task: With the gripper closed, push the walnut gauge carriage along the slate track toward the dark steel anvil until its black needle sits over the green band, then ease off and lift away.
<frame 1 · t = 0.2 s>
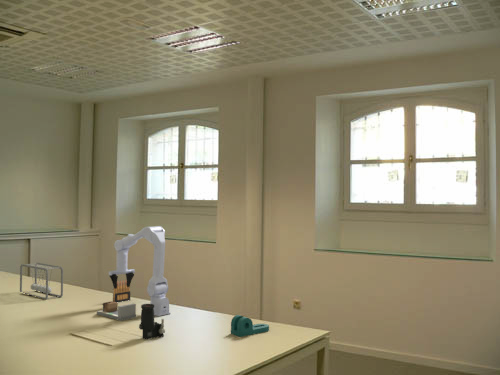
hand: (121, 287, 285), 10 cm above the table, fingers open, 7 cm apart
bracket: (251, 332, 235), on the table
gauge carriage: (108, 306, 265), point 4 cm above the table, slide at 0.0 cm
newton's cradle: (40, 296, 311), on the table
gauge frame: (116, 315, 262), on the table
scope: (149, 338, 224), on the table
ammunition clip: (121, 301, 297), on the table
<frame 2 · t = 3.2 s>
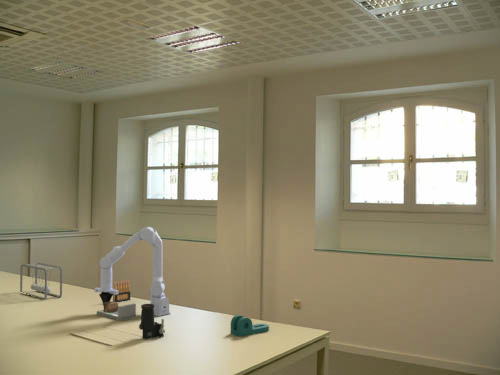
hand: (106, 307, 268), 3 cm above the table, fingers closed
gauge carriage: (109, 306, 265), point 4 cm above the table, slide at 0.6 cm, touching gripper
everything else where it was.
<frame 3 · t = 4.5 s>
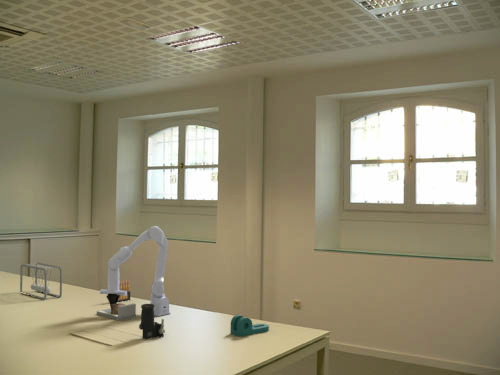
hand: (113, 309, 264), 3 cm above the table, fingers closed
gauge carriage: (117, 308, 261), point 4 cm above the table, slide at 6.8 cm, touching gripper
everything else where it was.
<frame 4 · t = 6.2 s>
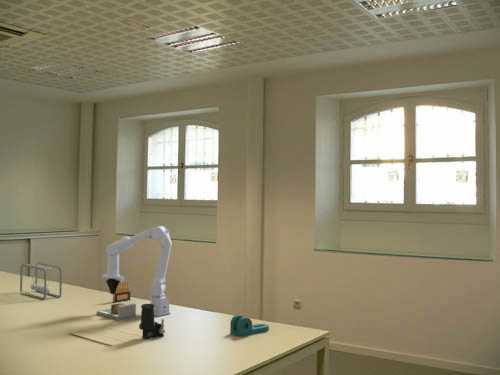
hand: (112, 293, 270), 9 cm above the table, fingers closed
gauge carriage: (117, 308, 261), point 4 cm above the table, slide at 6.9 cm
everything else where it was.
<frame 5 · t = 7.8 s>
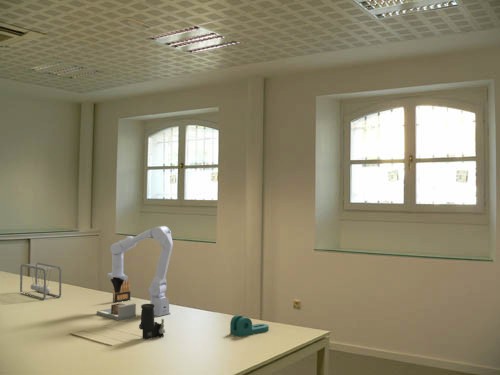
hand: (117, 292, 274), 9 cm above the table, fingers closed
nothing on the table moved.
at the end: gauge carriage slide at 6.9 cm; gauge carriage touching nothing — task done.
